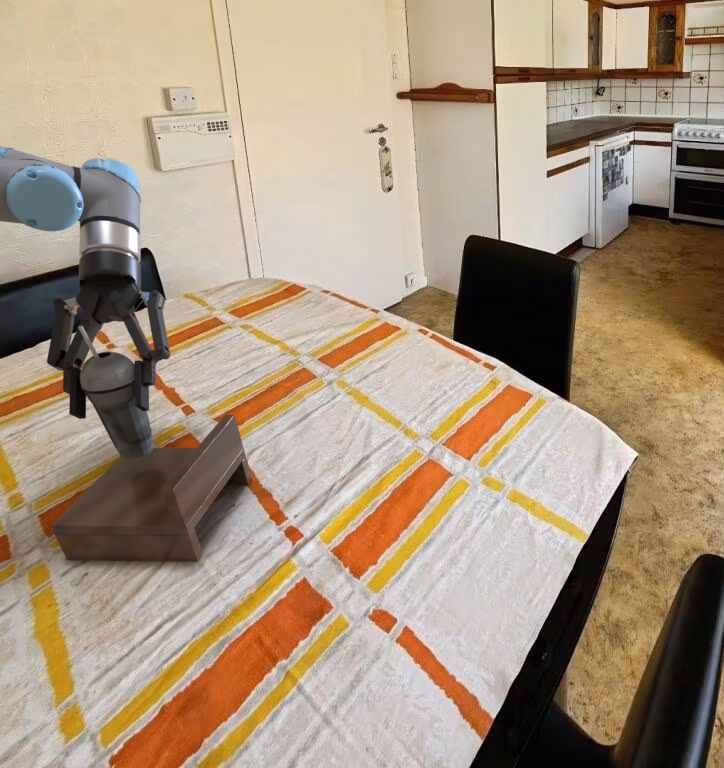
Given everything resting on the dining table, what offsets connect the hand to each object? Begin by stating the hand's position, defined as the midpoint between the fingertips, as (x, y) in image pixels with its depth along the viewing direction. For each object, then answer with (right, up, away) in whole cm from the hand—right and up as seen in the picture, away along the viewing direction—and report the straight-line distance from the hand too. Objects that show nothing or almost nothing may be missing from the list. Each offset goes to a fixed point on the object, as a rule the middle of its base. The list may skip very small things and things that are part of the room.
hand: (110, 412), depth 84 cm
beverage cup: (-1, -6, +7) cm, 9 cm away
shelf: (+4, -16, +7) cm, 18 cm away
